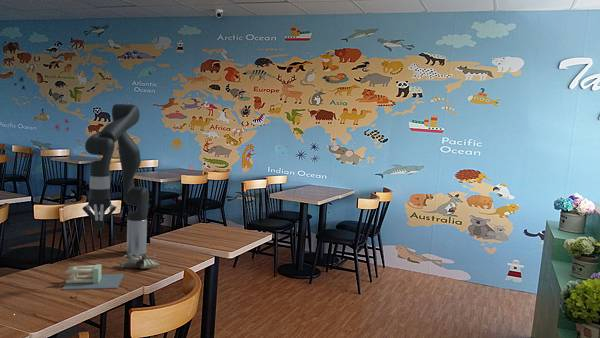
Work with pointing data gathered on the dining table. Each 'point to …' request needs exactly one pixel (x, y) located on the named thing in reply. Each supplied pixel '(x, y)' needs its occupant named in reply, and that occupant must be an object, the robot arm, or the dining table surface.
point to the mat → (105, 283)
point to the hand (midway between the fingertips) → (99, 229)
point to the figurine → (139, 261)
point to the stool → (84, 269)
